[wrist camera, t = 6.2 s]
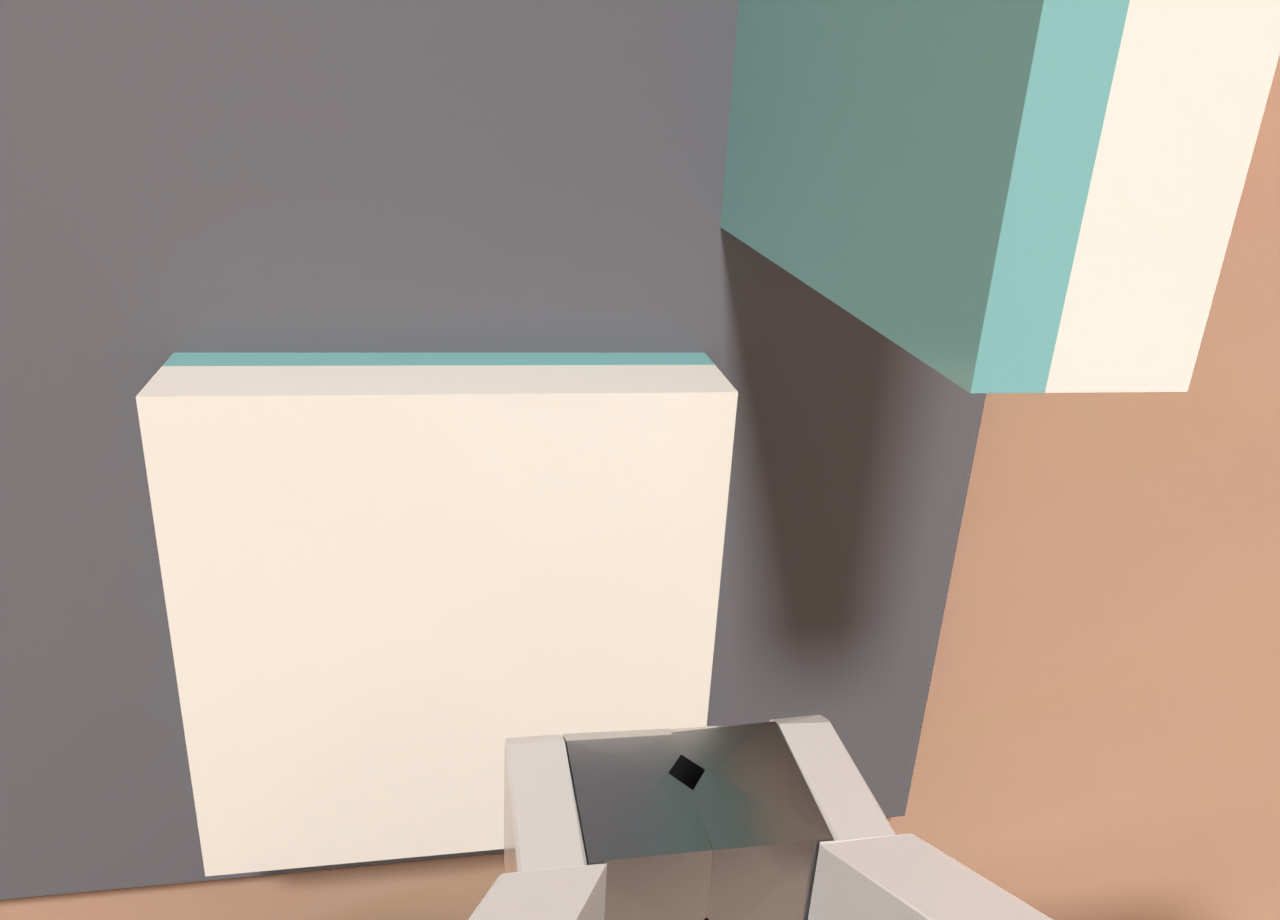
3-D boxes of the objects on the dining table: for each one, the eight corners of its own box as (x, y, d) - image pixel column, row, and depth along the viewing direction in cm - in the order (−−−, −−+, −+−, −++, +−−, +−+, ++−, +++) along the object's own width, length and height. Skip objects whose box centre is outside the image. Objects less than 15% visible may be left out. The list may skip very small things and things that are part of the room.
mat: (1120, -474, 10) (1159, -503, 10) (888, 789, 16) (904, 815, 16) (-880, -820, 7) (-990, -892, 7) (-247, 889, 13) (-277, 925, 13)
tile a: (737, 391, 11) (136, 396, 10) (696, 831, 13) (204, 876, 12) (704, 352, 12) (174, 352, 11) (672, 756, 14) (229, 790, 13)
